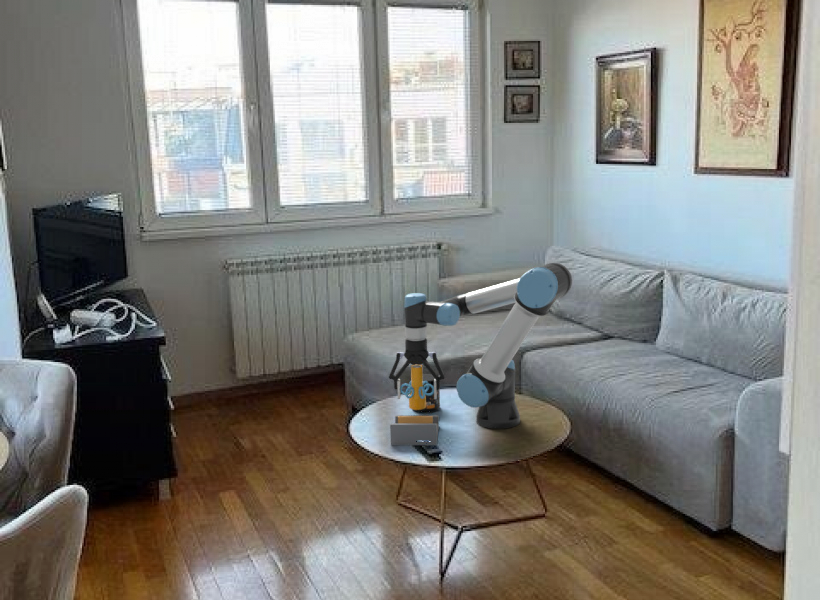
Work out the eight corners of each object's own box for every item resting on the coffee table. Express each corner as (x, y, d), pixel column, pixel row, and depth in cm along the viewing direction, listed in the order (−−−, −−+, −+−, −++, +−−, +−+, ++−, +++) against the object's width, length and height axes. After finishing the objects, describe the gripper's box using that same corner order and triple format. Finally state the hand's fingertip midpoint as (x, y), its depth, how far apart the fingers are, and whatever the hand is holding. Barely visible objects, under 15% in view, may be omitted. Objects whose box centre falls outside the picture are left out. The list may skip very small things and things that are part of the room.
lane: (438, 426, 292) (438, 407, 290) (436, 445, 274) (436, 424, 273) (395, 426, 293) (395, 407, 291) (390, 445, 275) (390, 424, 274)
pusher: (433, 432, 284) (432, 415, 283) (432, 434, 283) (432, 417, 282) (398, 432, 285) (398, 416, 284) (398, 434, 284) (397, 417, 283)
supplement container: (410, 413, 306) (409, 381, 303) (413, 404, 316) (412, 373, 314) (438, 413, 304) (438, 382, 302) (441, 404, 315) (440, 373, 312)
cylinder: (398, 411, 292) (396, 370, 289) (402, 402, 302) (401, 361, 299) (433, 412, 290) (432, 370, 287) (436, 403, 300) (435, 362, 297)
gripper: (451, 335, 293) (452, 394, 298) (382, 335, 295) (383, 394, 300) (451, 340, 286) (451, 401, 290) (379, 340, 288) (381, 401, 292)
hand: (417, 398), depth 295 cm, fingers closed on cylinder, 12 cm apart
